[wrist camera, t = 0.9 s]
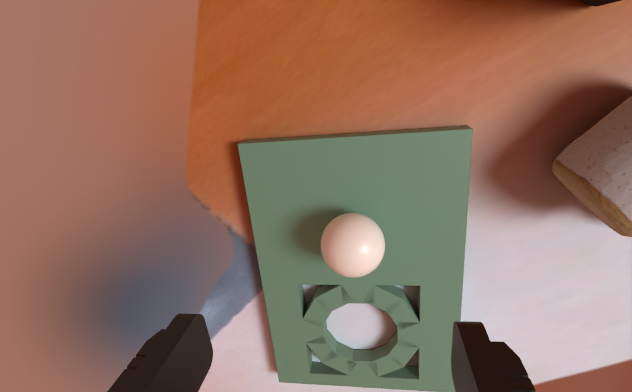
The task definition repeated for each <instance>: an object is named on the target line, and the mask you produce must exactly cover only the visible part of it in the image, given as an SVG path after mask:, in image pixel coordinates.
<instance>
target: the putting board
mask: <svg viewBox="0 0 632 392" xmlns="http://www.w3.org/2000/svg"><path fill="white" fill-rule="evenodd" d="M472 133H473V129H472V128H471V127H469V126H468V125H466V126H451V127H436V128H420V129H405V130H390V131H375V132H360V133H344V134H329V135H314V136H299V137H284V138H269V139H253V140H243V141H242V142H240V143H238V149H239V155H240V161H241V166H242V172H243V178H244V184H245V189H246V195H247V201H248V206H249V212H250V218H251V224H252V229H253V235H254V241H255V246H256V252H257V258H258V264H259V269H260V275H261V281H262V286H263V292H264V298H265V304H266V309H267V315H268V321H269V326H270V332H271V338H272V344H273V349H274V355H275V361H276V366H277V372H278V378H279V382H285V383H302V384H318V385H335V386H352V387H368V388H385V389H401V390H418V391H435V392H456V391H455V387H454V383H453V378H452V371H451V351H452V335H453V323H454V322H455V321H458V322H460V317H461V302H462V287H463V271H464V256H465V241H466V225H467V210H468V195H469V179H470V164H471V149H472ZM346 213H359V214H363V215H365V216H367V217H369V218H371V219H372V220H373V221H374V222H375V223H377V225H378V226H379V227H380V229H381V231H382V233H383V236H384V240H385V252H384V256H383V258H382V260H381V262H380V264H379V265H378V266H377V268H376V269H375V270H373V271H372V272H371V273H369V274H367V275H365V276H362V277H354V278H352V277H345V276H342V275H340V274H338V273H336V272H334V271H333V270H332V269H331V268H330V267H329V266H328V265H327V263H326V262H325V260H324V258H323V256H322V252H321V237H322V234H323V232H324V229H325V228H326V226H327V225H328V224H329V223H330V222H331V221H332V220H333V219H334V218H336V217H338V216H340V215H342V214H346ZM302 284H305V285H323V286H321V287H319V288H317V290H316V291H315V293H314V295H313V297H312V298H311V300H310V302H309V304H308V305H307V307H306V309H305V302H304V294H303V287H302ZM394 285H409V286H418V311H417V310H416V308H415V307H414V306H413V304H412V303H411V301H410V300H409V299H408V297H407V296H406V294H405V293H404V292H403V290H402V289H401V288H398V287H396V286H394ZM347 303H369V304H371V305H373V306H375V307H377V308H379V309H381V310H383V311H386V312H387V313H388V314H389V316H390V317H391V318H392V320H393V321H394V322H395V324H396V325H397V331H396V333H395V334H394V335H393V337H392V338H391V339H390V341H389V342H388V343H387V344H385V345H382V346H380V347H378V348H375V349H373V350H360V349H352V348H350V347H347V346H345V345H343V344H341V343H339V342H337V341H336V340H335V338H334V337H333V336H332V335H331V333H330V332H329V331H328V330H327V325H326V319H327V318H328V316H329V315H330V313H331V311H333V310H335V309H337V308H339V307H341V306H343V305H345V304H347ZM310 349H311V350H312V351H313V352H314V354H315V355H316V356H317V357H318V358H319V360H320V361H321V362H312V357H311V350H310ZM416 351H417V367H407V366H405V365H406V364H407V362H408V361H409V360H410V359H411V357H412V356H413V355H414V354H415V353H416Z"/></svg>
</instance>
